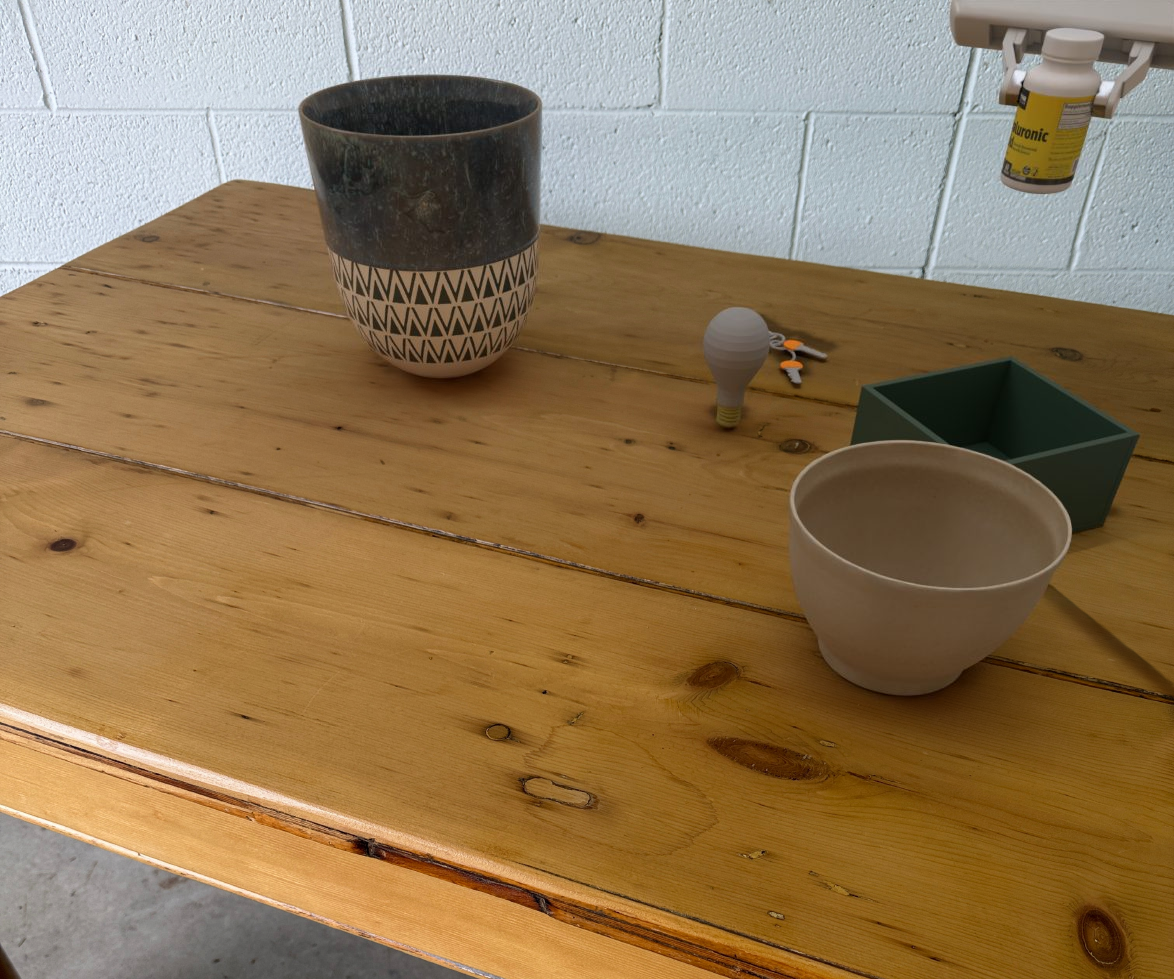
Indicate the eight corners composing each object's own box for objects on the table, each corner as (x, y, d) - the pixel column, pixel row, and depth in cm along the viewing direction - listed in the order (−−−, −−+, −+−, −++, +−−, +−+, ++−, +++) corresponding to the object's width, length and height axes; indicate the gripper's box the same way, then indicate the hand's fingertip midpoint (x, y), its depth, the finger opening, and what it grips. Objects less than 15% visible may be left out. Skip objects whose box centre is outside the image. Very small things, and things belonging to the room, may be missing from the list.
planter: (303, 393, 95) (250, 122, 80) (398, 313, 108) (367, 66, 93) (502, 427, 91) (486, 147, 76) (576, 339, 104) (575, 84, 89)
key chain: (702, 341, 103) (703, 332, 103) (757, 324, 107) (758, 315, 106) (793, 388, 96) (794, 379, 96) (849, 368, 99) (851, 359, 99)
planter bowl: (717, 651, 69) (734, 504, 62) (860, 556, 77) (891, 415, 70) (927, 775, 61) (977, 624, 54) (1062, 654, 69) (1123, 508, 62)
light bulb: (763, 416, 93) (778, 300, 86) (753, 445, 89) (768, 326, 82) (702, 408, 94) (712, 292, 87) (690, 437, 90) (700, 318, 83)
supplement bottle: (984, 177, 83) (1021, 27, 76) (1043, 171, 84) (1085, 23, 77) (1023, 198, 80) (1066, 43, 73) (1085, 192, 81) (1132, 38, 74)
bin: (986, 442, 90) (1011, 355, 84) (1103, 526, 80) (1140, 434, 75) (843, 474, 86) (861, 385, 80) (950, 565, 76) (977, 471, 71)
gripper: (987, -124, 78) (915, 60, 79) (1292, -107, 70) (1208, 96, 71) (987, -55, 83) (920, 115, 84) (1268, -33, 76) (1192, 153, 77)
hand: (1054, 107), depth 78 cm, fingers closed on supplement bottle, 5 cm apart
